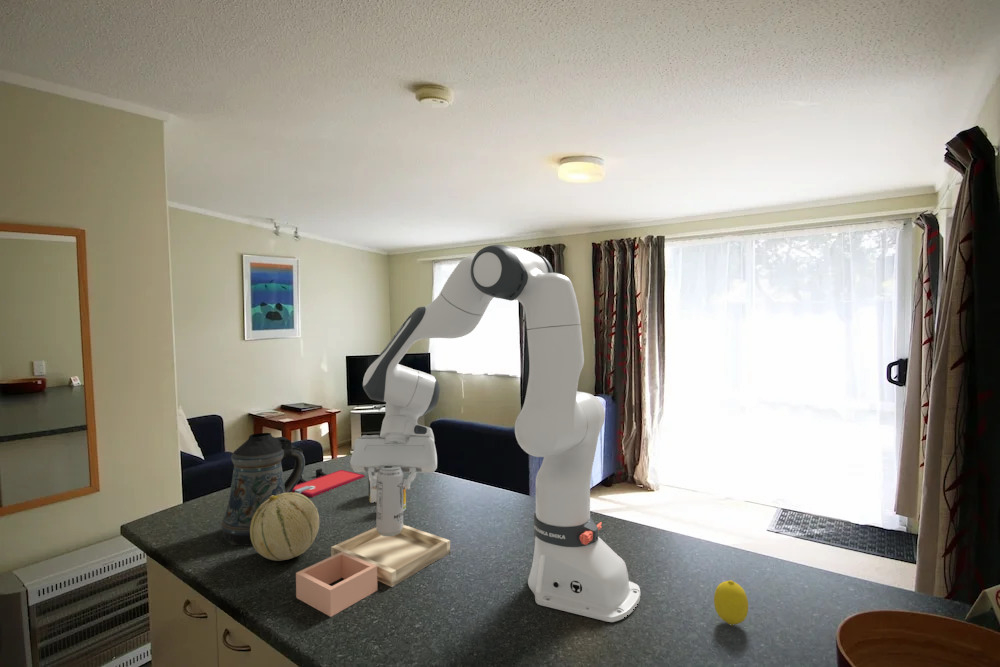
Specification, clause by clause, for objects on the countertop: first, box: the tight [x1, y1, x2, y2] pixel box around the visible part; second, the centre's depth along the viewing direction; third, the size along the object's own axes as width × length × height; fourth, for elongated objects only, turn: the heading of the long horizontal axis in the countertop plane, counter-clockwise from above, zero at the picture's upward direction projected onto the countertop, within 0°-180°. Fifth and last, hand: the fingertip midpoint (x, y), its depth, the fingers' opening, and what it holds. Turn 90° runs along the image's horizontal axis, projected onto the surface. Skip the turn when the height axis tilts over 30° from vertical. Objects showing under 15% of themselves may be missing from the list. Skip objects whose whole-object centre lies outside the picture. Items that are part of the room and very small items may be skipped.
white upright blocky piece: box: [367, 472, 378, 504], centre depth 153 cm, size 7×7×12 cm
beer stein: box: [220, 432, 306, 546], centre depth 131 cm, size 16×19×25 cm
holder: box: [295, 551, 378, 618], centre depth 100 cm, size 11×11×5 cm
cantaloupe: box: [250, 492, 320, 562], centre depth 116 cm, size 15×15×15 cm
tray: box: [330, 524, 451, 588], centre depth 116 cm, size 20×18×3 cm
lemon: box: [713, 579, 749, 626], centre depth 90 cm, size 6×6×8 cm
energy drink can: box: [375, 465, 405, 536], centre depth 116 cm, size 6×6×15 cm
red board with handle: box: [291, 468, 366, 498], centre depth 164 cm, size 30×3×15 cm
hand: (389, 488), depth 115 cm, fingers closed on energy drink can, 6 cm apart
